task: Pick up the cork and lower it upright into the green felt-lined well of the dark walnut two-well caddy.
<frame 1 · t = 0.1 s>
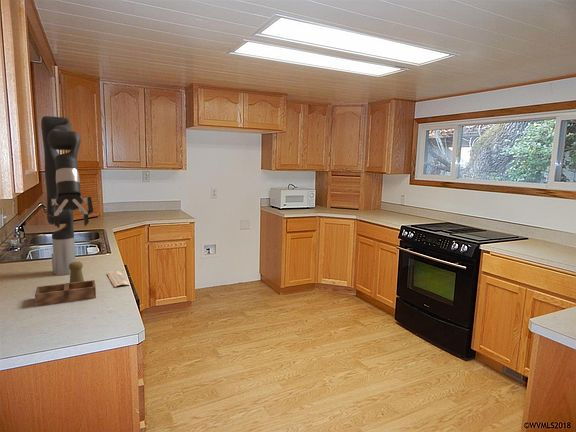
hand: (72, 226, 138), 31 cm above the countertop, tool tilted 20°, fingers open, 8 cm apart
newspaper: (118, 281, 180), on the countertop
cork: (77, 287, 169), on the countertop
walnut caddy: (67, 297, 155), on the countertop
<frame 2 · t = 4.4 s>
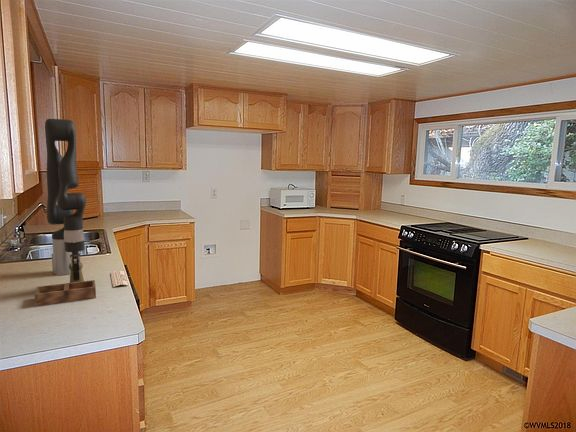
hand: (76, 278, 168), 4 cm above the countertop, tool pointing down, fingers closed on cork, 4 cm apart
cork: (77, 287, 169), on the countertop, touching gripper
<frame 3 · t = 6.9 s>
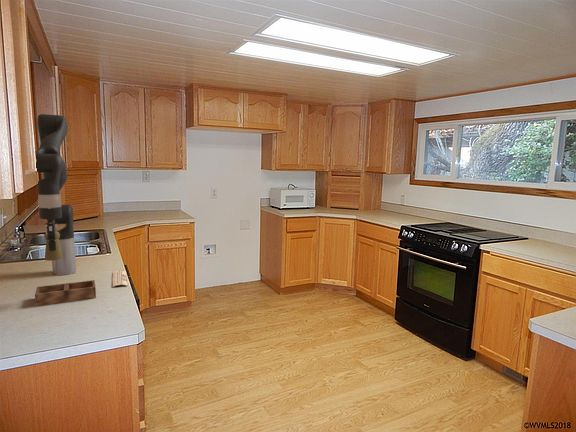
hand: (52, 249, 152), 20 cm above the countertop, tool pointing down, fingers closed on cork, 4 cm apart
cork: (53, 259, 152), point 16 cm above the countertop, touching gripper
when the fingers open (6 cm above the countertop, at t = 9.6 s): cork drops 1 cm, resting on walnut caddy.
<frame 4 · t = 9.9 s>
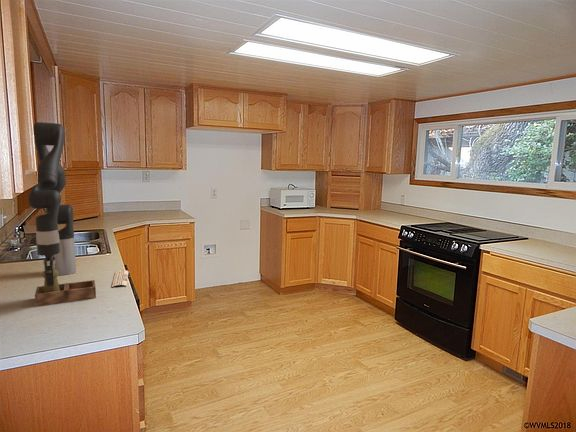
hand: (51, 282, 152), 7 cm above the countertop, tool pointing down, fingers open, 7 cm apart
cork: (52, 297, 153), point 1 cm above the countertop, touching walnut caddy
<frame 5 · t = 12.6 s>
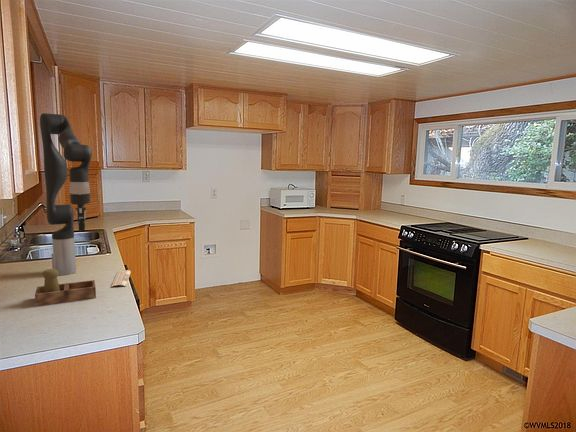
hand: (82, 229, 167), 25 cm above the countertop, tool pointing down, fingers open, 8 cm apart
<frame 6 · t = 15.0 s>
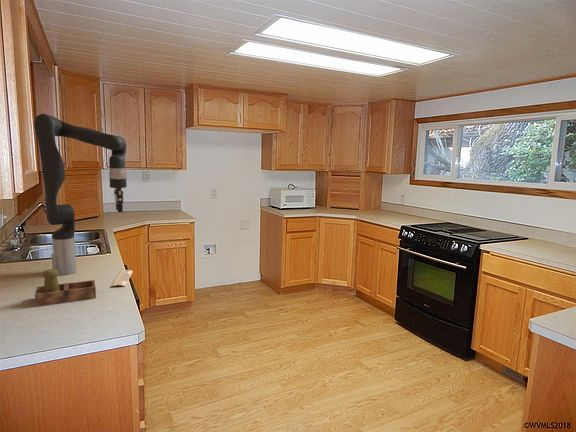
hand: (119, 211, 190), 30 cm above the countertop, tool pointing down, fingers open, 8 cm apart
at the end: cork 0.0 cm from the target spot on the walnut caddy, point 1.0 cm above the walnut caddy's base; cork tilted 0°; the gripper is holding nothing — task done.
